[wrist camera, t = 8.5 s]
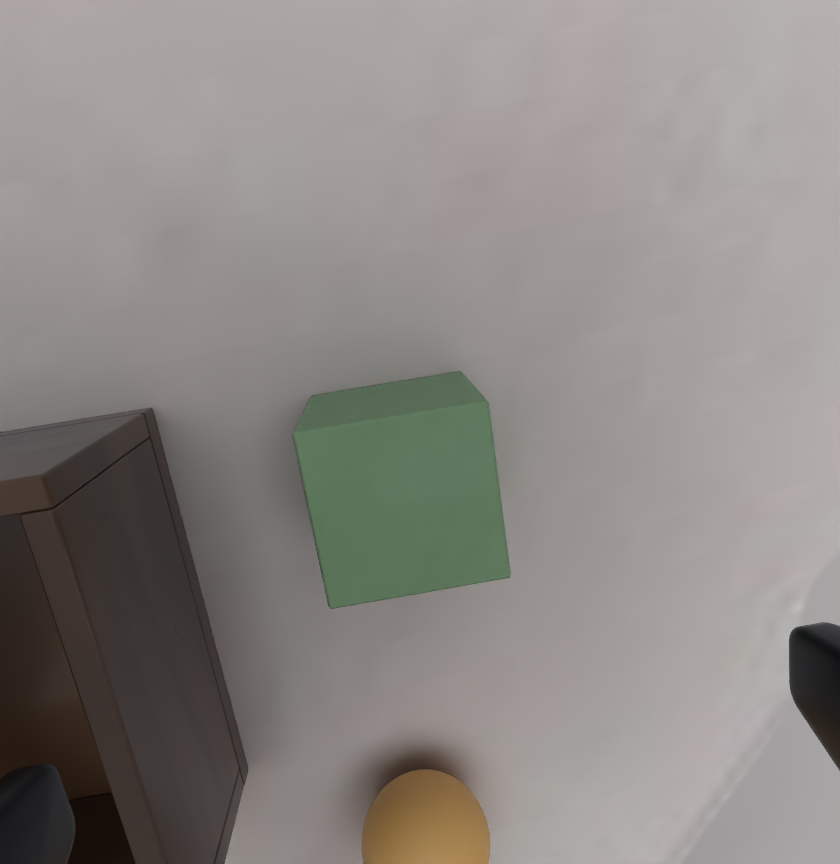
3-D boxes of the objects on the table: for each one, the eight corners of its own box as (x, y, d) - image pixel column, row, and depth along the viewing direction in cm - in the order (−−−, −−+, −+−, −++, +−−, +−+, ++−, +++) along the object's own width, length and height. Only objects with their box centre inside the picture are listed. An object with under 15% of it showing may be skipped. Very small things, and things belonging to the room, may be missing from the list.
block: (481, 511, 19) (511, 578, 15) (338, 536, 19) (329, 610, 15) (461, 370, 18) (488, 399, 14) (310, 395, 18) (291, 432, 14)
